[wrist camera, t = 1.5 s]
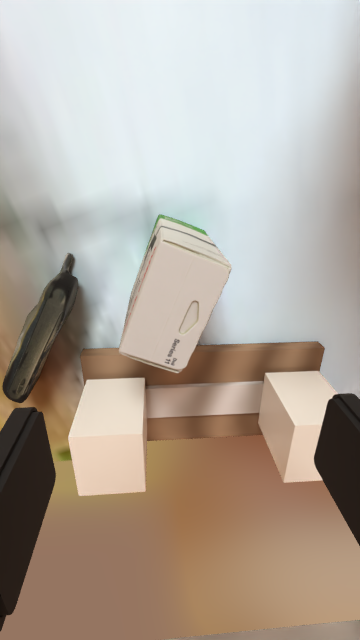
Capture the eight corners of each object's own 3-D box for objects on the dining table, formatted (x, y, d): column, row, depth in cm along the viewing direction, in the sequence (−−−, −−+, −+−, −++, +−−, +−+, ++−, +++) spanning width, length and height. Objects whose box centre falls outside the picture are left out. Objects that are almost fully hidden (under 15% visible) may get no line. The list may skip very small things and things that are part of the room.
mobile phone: (25, 410, 31) (81, 279, 26) (-7, 399, 30) (44, 262, 25) (42, 379, 35) (92, 262, 30) (14, 369, 35) (61, 248, 29)
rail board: (318, 341, 36) (327, 350, 34) (300, 423, 41) (307, 436, 39) (83, 349, 34) (79, 359, 32) (94, 434, 39) (91, 447, 37)
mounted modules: (318, 370, 35) (362, 422, 27) (306, 422, 38) (343, 480, 30) (86, 379, 33) (68, 437, 26) (94, 433, 36) (79, 498, 29)
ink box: (158, 211, 29) (161, 232, 18) (207, 231, 30) (238, 263, 19) (128, 296, 32) (115, 358, 21) (173, 311, 33) (183, 378, 22)
